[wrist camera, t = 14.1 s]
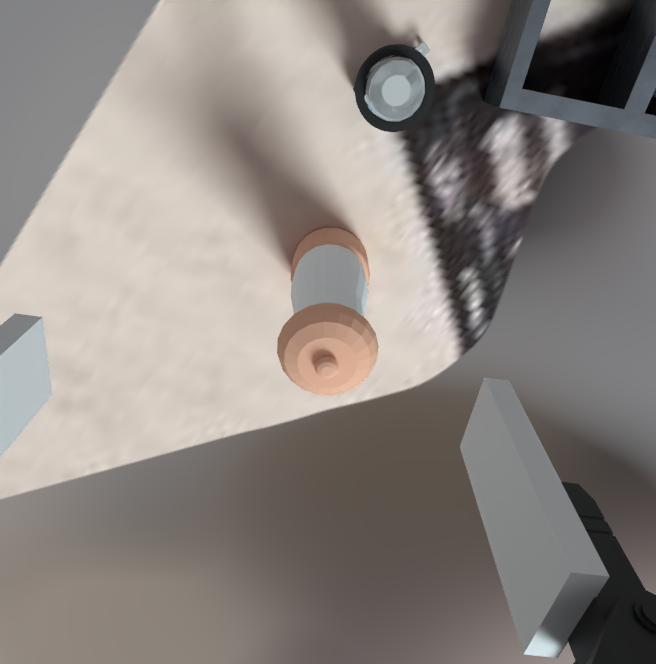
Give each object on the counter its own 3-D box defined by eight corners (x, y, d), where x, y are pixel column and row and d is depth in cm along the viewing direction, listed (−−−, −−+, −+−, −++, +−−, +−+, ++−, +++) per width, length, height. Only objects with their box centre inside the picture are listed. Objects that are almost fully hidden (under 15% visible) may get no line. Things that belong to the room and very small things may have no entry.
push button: (406, 16, 40) (425, 8, 32) (443, 76, 42) (470, 83, 34) (338, 75, 43) (339, 83, 34) (377, 129, 44) (386, 150, 36)
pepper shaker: (335, 211, 48) (333, 300, 31) (382, 267, 51) (405, 377, 34) (277, 259, 50) (247, 365, 34) (326, 310, 53) (320, 433, 36)
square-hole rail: (483, 101, 43) (499, 107, 39) (530, -60, 38) (555, -74, 34) (706, 145, 45) (746, 156, 40) (782, -4, 39) (838, -11, 35)
